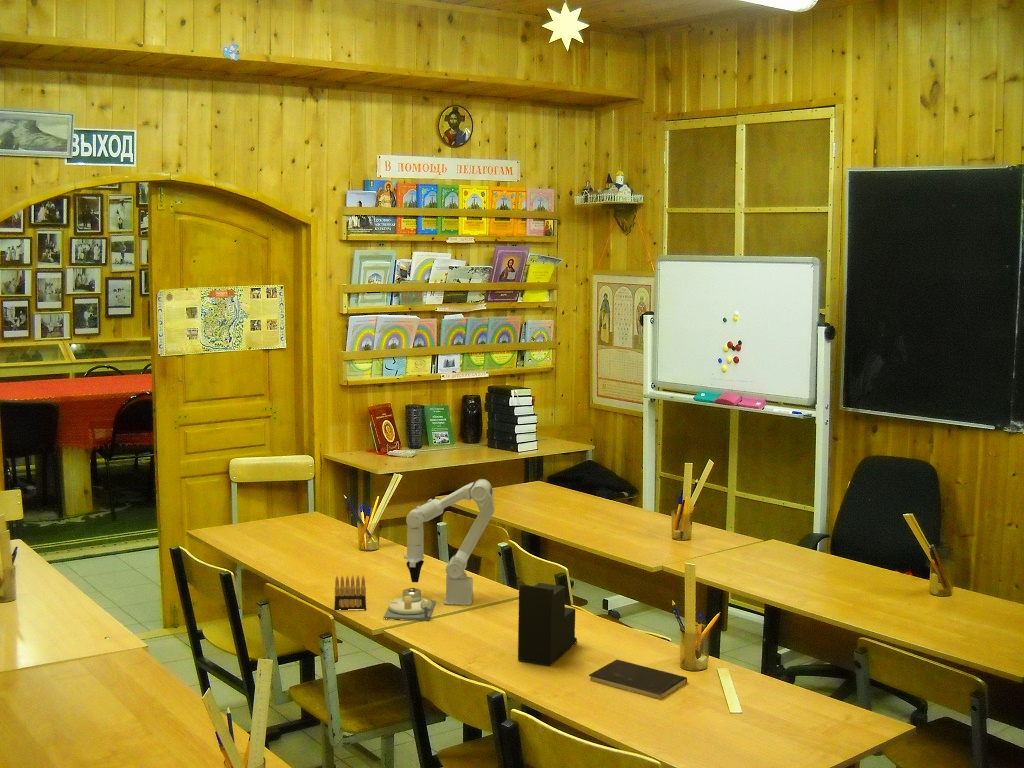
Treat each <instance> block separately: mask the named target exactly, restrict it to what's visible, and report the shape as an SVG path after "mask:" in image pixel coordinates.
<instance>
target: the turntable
mask: <svg viewBox="0 0 1024 768" xmlns="http://www.w3.org/2000/svg"><path fill="white" fill-rule="evenodd" d="M393 599H394V600H393ZM393 599H392V600H390V601H389V602H388V607H389V610H390V611H392V612H395V613H399V614H419V613H424V610H422V608H421V602H422V601H423V600H429V601H430V599H428V598H425V597H421V601H419V602H413V603H412V597H411V596H404V601H403V596H402V597H397V598H393ZM430 602H431V601H430ZM431 604H432V603H431ZM431 607H432V606H431ZM428 611H429V610H428Z"/></svg>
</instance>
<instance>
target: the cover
mask: <svg viewBox="0 0 1024 768" xmlns="http://www.w3.org/2000/svg"><path fill="white" fill-rule="evenodd" d="M404 596H411V597H412V603H413V602H419V601H421V598H422V590H421V589H420V588H416V587H409V588H406V589H403V590H402V597H403V601H404Z"/></svg>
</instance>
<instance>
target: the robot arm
mask: <svg viewBox="0 0 1024 768" xmlns="http://www.w3.org/2000/svg"><path fill="white" fill-rule="evenodd" d="M494 497H495V496H494V489H493V487H492V484H491V483H490V481H488V480H487V479H484V478H480V479H477V480H476V481H475V482H474V481H472V482H470V483H468V484H466V485H464V486H462V487H461V488H459V489H457V490H455V491H454V492H451V493H450V494H449V495H447V496H445V497H443V498H442V499H438V498H434V499H432V498H430V499H428V500H427V502H426V503H424V504H422V505H417V506H416V507H415V508H414V509H412V510H410V512H409V513H408V514H407V516H406V518H405V521H406V525H407V528H406V529H407V532H406V534H407V536H406V537H407V538H406V543H407V544H406V554H405V555H403V559H406V561H407V562H406V567H407V569H408V570H409V571H408V572H409V574H410V575H409V576H410V579H411V582H412V583H419V580H420V577H421V569H422V567H423V565H424V563H425V560H424V559H425V556H424V555H425V554H424V549H425V548H424V547H425V545H424V542H425V541H424V537H425V536H424V535H425V534H424V532H425V531H424V523H425V522H426V523H427V522H429V521H431V520H433V519H434V518H436V517H439V516H440V515H441V514H442V515H443V513H444V510H445V508H447V507H450V506H451V505H454V504H456V503H458V502H459V501H462V500H467V501H471V500H473V501H474V503H475V504H476V506H477V508H478V511H479V513H478V514H477V516H476V517H475V519H474V521H473V523H472V525H471V527H470V528H469V531H468V532H467V534H466V536H465V538H464V540H463V541H462V543H461V545H460V546H459V549H458V550H457V552H456V553H455V554H454V555H453V556H452V557H450V559H449V562H448V563H447V565H446V567H445V573H446V575H445V576H446V577H445V585H446V586H445V599H444V602H443V605H454V604H455V605H456V606H457V605H458V606H461V605H463V606H472V603H473V599H474V579H473V578H474V577H472V576H468V574H467V573H466V571H465V570H466V568H467V566H468V560H469V558H470V556H471V554H472V553H473V551H474V549H475V547H476V546H477V544H478V541H479V540H480V538H481V537H482V534H483V533H484V531H485V529H486V527H487V526H488V523H489V522H490V520H491V518H492V517H493V515H494V513H495V499H494Z"/></svg>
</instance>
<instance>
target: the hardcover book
mask: <svg viewBox="0 0 1024 768" xmlns="http://www.w3.org/2000/svg"><path fill="white" fill-rule="evenodd" d="M588 676H589V678H590V681H591V680H592V682H596V683H598V684H603V685H605V686H610V687H612V688H613V687H615V688H617V689H621V690H624V691H629V692H632V693H637V694H639V695H643V696H647V697H650V698H654V699H658V700H661V699H662V698H664V697H666V696H667V695H669V694H670V693H672V692H674V691H675V690H677V689H678V688H680V687H682V686H683V685H684V684H687V683H688V677H687V676H683V675H680V674H675V673H672V672H667V671H664V670H659V669H655V668H652V667H647V666H643V665H640V664H636V663H633V662H629V661H625V660H620V659H615V660H613V661H611V662H610V663H608V664H605V665H604V666H602V667H600V668H599V669H597V670H595V671H593V672H591V673H590V674H589V675H588Z"/></svg>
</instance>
